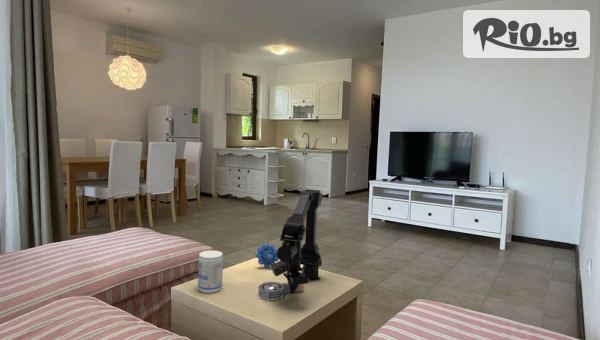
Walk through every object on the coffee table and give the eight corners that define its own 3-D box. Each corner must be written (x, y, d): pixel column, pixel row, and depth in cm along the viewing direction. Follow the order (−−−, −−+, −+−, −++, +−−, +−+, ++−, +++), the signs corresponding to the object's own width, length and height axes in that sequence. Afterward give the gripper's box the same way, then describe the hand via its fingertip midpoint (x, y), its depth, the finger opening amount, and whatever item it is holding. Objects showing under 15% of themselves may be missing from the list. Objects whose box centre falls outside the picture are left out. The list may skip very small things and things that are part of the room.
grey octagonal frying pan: (298, 284, 157) (298, 277, 156) (307, 294, 148) (307, 286, 147) (256, 289, 150) (256, 282, 150) (262, 299, 141) (262, 291, 141)
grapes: (258, 272, 172) (258, 246, 172) (253, 267, 179) (254, 242, 178) (281, 269, 177) (282, 244, 176) (276, 264, 183) (277, 240, 182)
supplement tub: (193, 290, 149) (193, 254, 148) (208, 282, 158) (208, 248, 157) (212, 295, 146) (213, 258, 144) (227, 287, 154) (227, 252, 153)
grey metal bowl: (279, 288, 154) (279, 280, 154) (287, 298, 145) (287, 289, 144) (256, 291, 150) (256, 283, 150) (262, 302, 141) (262, 292, 141)
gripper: (266, 248, 149) (265, 286, 150) (280, 263, 131) (279, 306, 133) (292, 246, 153) (291, 283, 154) (310, 260, 135) (308, 302, 137)
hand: (292, 293), depth 144 cm, fingers closed
